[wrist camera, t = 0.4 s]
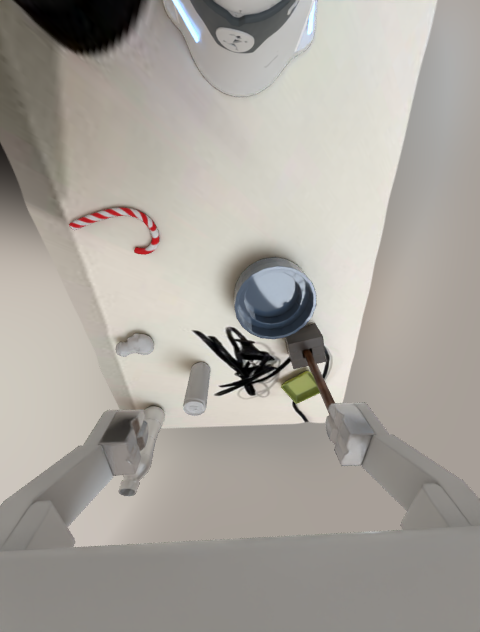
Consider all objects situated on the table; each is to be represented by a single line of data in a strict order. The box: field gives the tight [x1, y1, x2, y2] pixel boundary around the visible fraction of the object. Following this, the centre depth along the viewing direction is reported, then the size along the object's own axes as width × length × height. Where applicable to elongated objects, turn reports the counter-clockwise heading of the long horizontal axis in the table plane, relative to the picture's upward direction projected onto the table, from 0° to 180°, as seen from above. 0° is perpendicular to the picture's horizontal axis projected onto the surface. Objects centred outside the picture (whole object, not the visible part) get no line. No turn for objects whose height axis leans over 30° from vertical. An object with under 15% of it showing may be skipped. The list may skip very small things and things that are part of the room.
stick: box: [302, 349, 335, 415], centre depth 45 cm, size 2×2×20 cm
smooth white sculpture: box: [116, 333, 154, 357], centre depth 51 cm, size 4×8×5 cm
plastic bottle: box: [119, 406, 165, 496], centre depth 56 cm, size 6×7×20 cm
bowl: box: [234, 257, 316, 339], centre depth 45 cm, size 15×15×6 cm
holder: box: [285, 324, 326, 369], centre depth 52 cm, size 7×7×5 cm
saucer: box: [281, 371, 320, 404], centre depth 60 cm, size 9×9×2 cm
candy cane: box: [69, 208, 159, 254], centre depth 40 cm, size 8×1×15 cm
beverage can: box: [183, 362, 210, 416], centre depth 52 cm, size 5×5×12 cm
